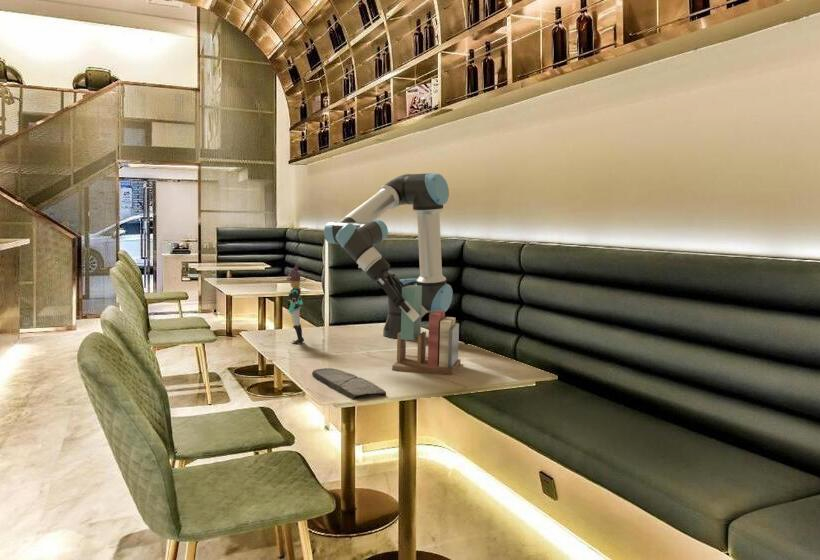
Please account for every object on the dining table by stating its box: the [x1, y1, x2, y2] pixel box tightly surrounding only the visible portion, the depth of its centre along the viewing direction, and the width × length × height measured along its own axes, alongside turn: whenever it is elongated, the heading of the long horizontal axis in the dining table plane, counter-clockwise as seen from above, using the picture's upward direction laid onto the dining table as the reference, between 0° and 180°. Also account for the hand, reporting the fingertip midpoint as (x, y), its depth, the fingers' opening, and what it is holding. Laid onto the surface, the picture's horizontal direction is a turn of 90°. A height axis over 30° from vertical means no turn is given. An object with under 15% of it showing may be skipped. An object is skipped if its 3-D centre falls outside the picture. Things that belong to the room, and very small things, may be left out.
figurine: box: [282, 262, 308, 345], centre depth 226 cm, size 20×9×30 cm, turn 2°
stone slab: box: [311, 367, 387, 400], centre depth 169 cm, size 10×3×30 cm
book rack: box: [391, 310, 461, 376], centre depth 193 cm, size 16×18×18 cm
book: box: [401, 285, 422, 341], centre depth 193 cm, size 10×4×16 cm, turn 166°
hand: (420, 316), depth 192 cm, fingers closed on book, 10 cm apart
